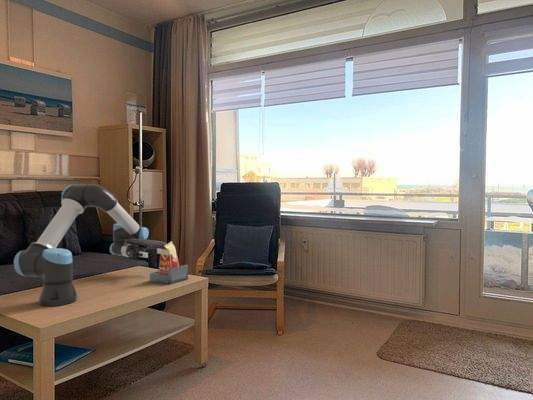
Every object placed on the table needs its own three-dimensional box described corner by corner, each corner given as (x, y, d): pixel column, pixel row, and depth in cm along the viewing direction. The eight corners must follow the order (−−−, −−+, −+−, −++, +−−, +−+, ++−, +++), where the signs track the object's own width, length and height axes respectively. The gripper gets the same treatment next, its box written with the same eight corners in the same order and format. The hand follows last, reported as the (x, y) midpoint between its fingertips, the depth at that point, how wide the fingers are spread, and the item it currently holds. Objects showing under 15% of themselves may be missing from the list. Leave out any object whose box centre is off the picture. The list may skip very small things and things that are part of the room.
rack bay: (170, 284, 210) (170, 269, 210) (150, 281, 218) (149, 266, 218) (188, 279, 222) (188, 265, 222) (168, 276, 230) (168, 262, 230)
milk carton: (168, 275, 226) (168, 240, 226) (181, 276, 222) (180, 241, 221) (157, 278, 218) (156, 242, 218) (170, 280, 214) (169, 243, 213)
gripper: (147, 253, 246) (172, 256, 235) (113, 260, 225) (139, 263, 214) (147, 241, 246) (172, 244, 235) (113, 246, 225) (139, 249, 214)
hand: (156, 253), depth 224 cm, fingers open, 13 cm apart
